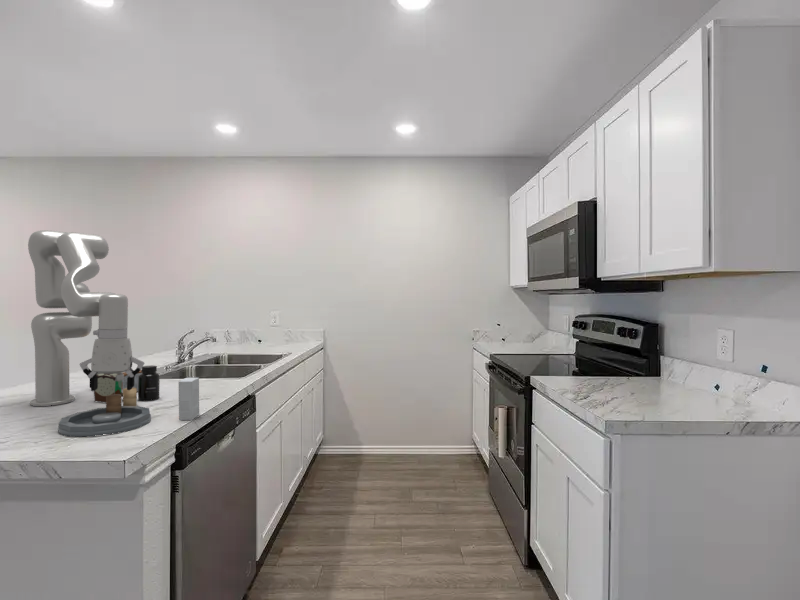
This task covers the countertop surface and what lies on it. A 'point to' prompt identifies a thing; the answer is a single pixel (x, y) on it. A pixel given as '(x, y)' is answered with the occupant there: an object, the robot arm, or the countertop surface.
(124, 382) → the tin
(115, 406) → the walnut bead
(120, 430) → the slate tray
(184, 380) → the skincare box
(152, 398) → the supplement bottle
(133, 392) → the oak bead
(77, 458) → the countertop surface
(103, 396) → the food container
